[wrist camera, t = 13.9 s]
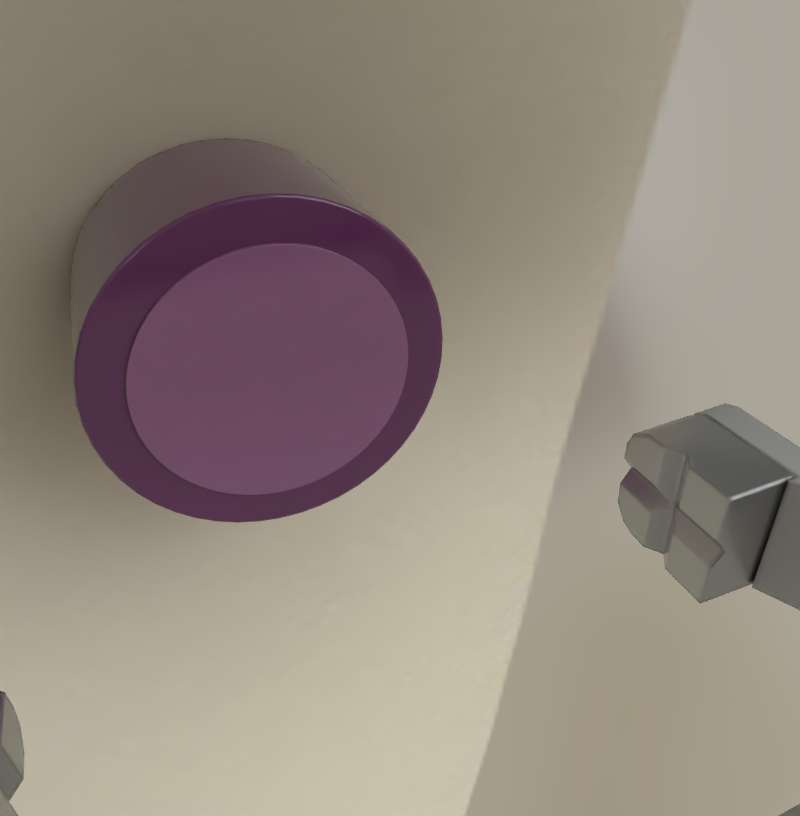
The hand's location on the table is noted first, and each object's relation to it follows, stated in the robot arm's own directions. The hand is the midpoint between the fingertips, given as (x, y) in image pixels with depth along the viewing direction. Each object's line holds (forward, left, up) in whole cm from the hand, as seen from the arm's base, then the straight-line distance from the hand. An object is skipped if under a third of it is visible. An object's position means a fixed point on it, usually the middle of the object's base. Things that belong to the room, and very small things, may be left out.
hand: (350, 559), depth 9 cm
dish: (0, 0, -7) cm, 7 cm away
